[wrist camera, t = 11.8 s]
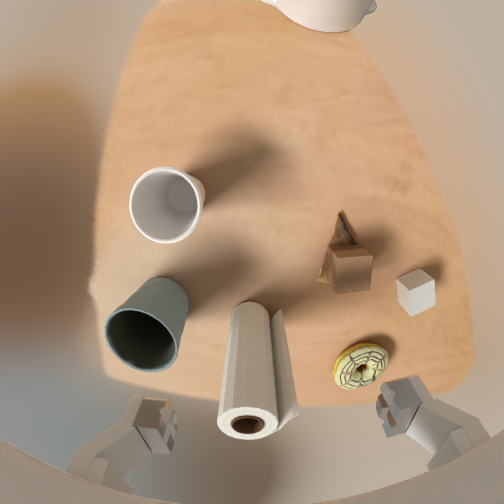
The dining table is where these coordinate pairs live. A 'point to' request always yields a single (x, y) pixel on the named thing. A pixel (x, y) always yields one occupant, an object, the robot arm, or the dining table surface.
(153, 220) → the dixie cup
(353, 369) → the decorated donut
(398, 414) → the robot arm
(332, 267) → the walnut cube
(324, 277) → the shard
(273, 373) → the paper towel roll
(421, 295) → the grey cube
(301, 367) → the dining table surface
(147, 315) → the teal plant pot
